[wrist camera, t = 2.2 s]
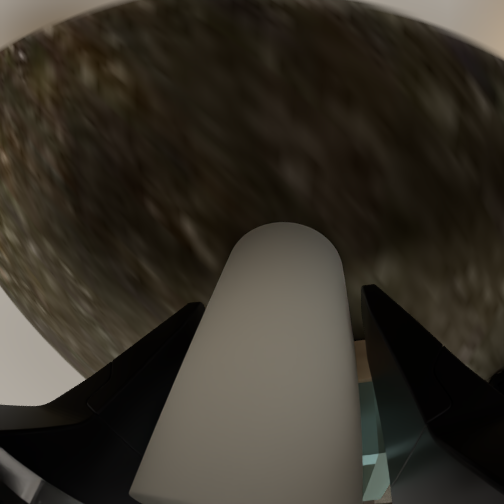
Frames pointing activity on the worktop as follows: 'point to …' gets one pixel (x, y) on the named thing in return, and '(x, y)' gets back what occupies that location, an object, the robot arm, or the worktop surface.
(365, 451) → the socket board
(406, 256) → the worktop surface
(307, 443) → the peg
